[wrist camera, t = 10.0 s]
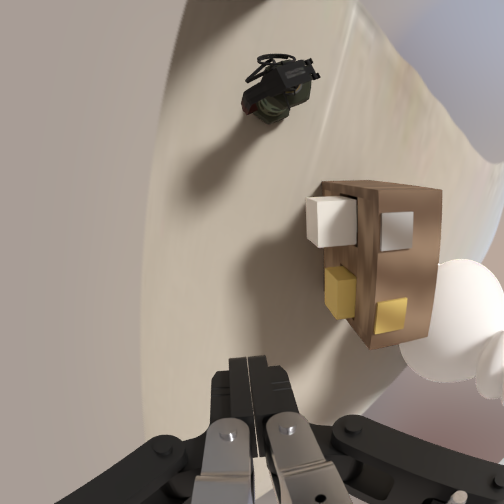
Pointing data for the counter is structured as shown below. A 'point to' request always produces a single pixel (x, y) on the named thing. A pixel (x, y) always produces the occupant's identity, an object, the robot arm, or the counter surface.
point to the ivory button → (331, 221)
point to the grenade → (278, 87)
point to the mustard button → (340, 292)
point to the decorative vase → (463, 330)
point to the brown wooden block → (390, 258)
